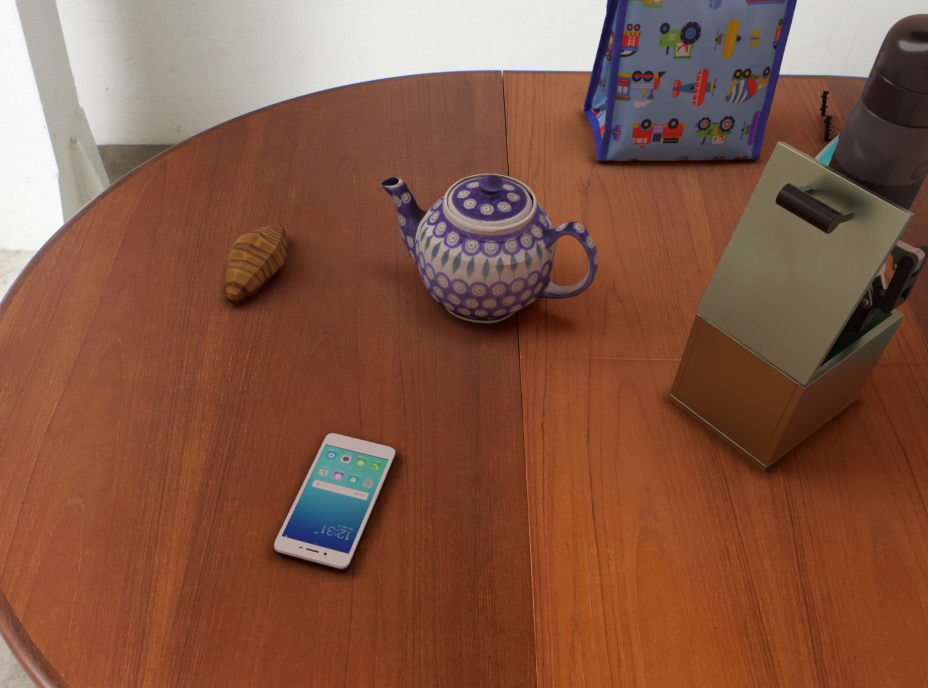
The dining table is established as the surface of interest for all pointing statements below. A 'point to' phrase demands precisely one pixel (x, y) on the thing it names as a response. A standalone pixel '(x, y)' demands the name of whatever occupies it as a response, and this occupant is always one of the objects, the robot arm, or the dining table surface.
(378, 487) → the smartphone
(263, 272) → the croissant
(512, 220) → the teapot
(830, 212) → the bin lid
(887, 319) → the waste bin
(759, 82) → the lunch bag
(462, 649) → the dining table surface
